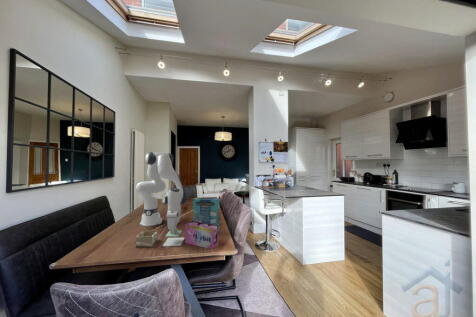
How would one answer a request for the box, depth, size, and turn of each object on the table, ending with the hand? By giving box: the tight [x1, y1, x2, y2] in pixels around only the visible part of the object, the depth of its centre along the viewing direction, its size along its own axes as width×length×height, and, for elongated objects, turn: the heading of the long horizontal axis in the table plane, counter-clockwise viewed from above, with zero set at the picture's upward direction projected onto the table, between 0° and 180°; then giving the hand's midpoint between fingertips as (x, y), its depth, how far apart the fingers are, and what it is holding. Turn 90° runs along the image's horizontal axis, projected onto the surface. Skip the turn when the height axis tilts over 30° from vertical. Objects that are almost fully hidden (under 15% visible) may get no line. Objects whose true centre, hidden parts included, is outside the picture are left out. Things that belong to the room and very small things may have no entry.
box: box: [135, 229, 159, 248], centre depth 134 cm, size 12×10×7 cm
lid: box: [164, 227, 183, 238], centre depth 136 cm, size 10×9×4 cm
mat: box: [162, 237, 185, 247], centre depth 136 cm, size 14×12×1 cm
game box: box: [192, 197, 220, 234], centre depth 157 cm, size 20×6×27 cm, turn 84°
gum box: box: [184, 220, 219, 250], centre depth 133 cm, size 24×8×14 cm, turn 64°
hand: (174, 231), depth 136 cm, fingers closed on lid, 2 cm apart
